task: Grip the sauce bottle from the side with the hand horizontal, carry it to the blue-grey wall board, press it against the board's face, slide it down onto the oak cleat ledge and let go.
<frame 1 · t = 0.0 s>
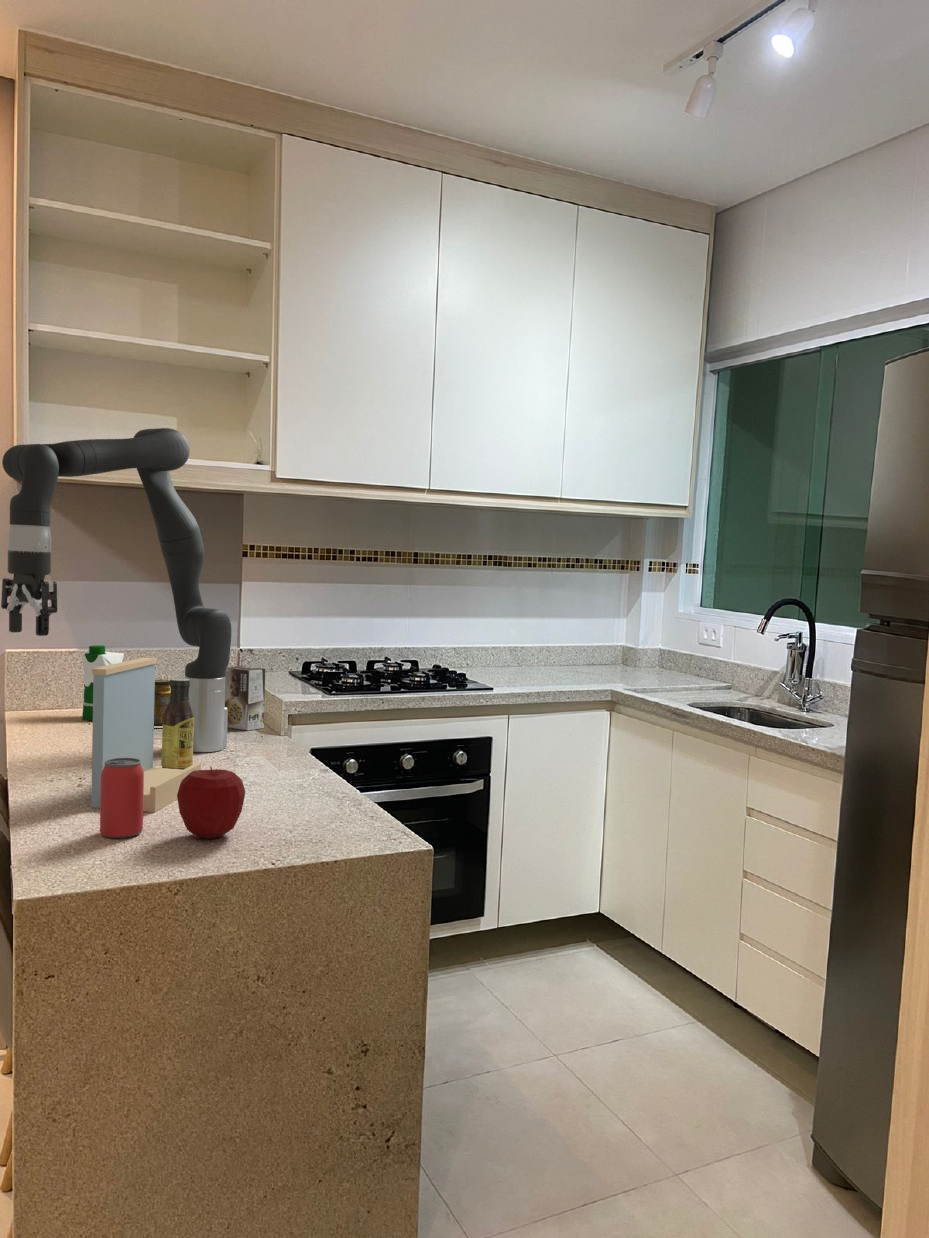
hand: (28, 633, 177), 29 cm above the countertop, tool pointing down, fingers open, 8 cm apart
condiment: (158, 726, 243), on the countertop
milk carton: (101, 719, 249), on the countertop
apple: (210, 837, 151), on the countertop
sauce bottle: (177, 774, 192), on the countertop
wall board: (123, 794, 175), on the countertop
coffee box: (243, 728, 246), on the countertop
beer can: (121, 834, 151), on the countertop
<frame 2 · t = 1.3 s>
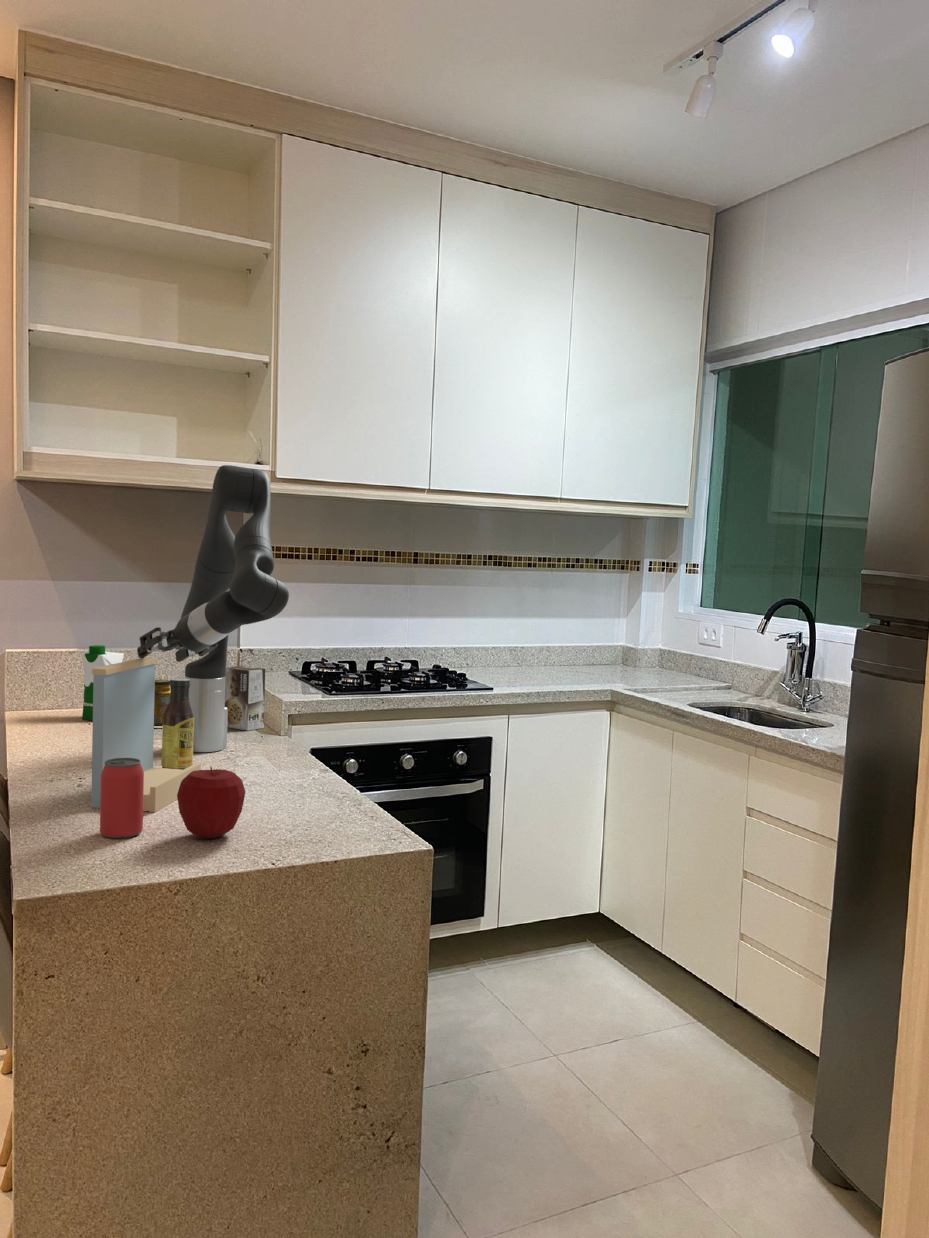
hand: (158, 655, 185), 25 cm above the countertop, tool tilted 65°, fingers open, 8 cm apart
nothing on the countertop moved.
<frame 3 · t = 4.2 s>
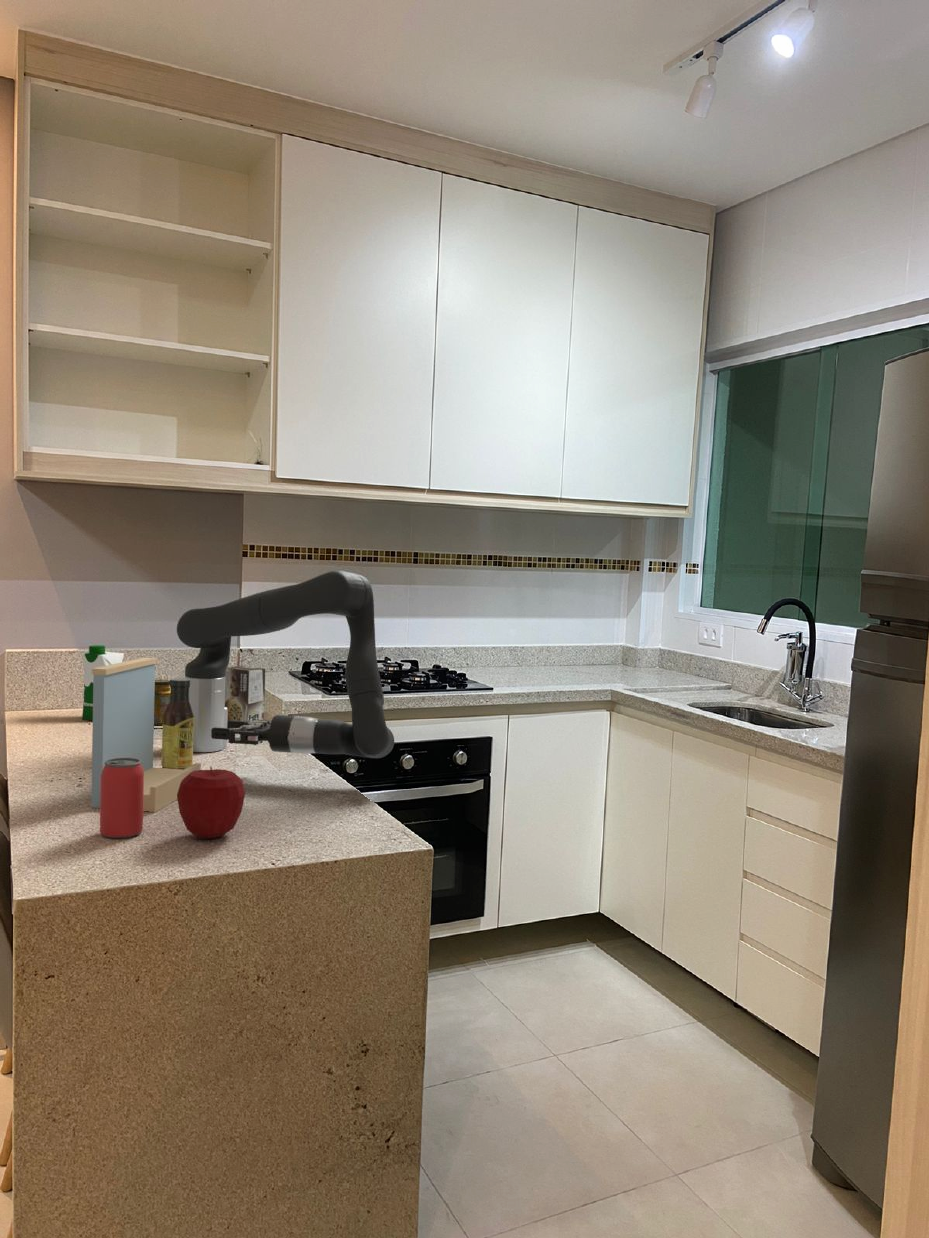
hand: (220, 729, 191), 10 cm above the countertop, tool horizontal, fingers open, 8 cm apart
nothing on the countertop moved.
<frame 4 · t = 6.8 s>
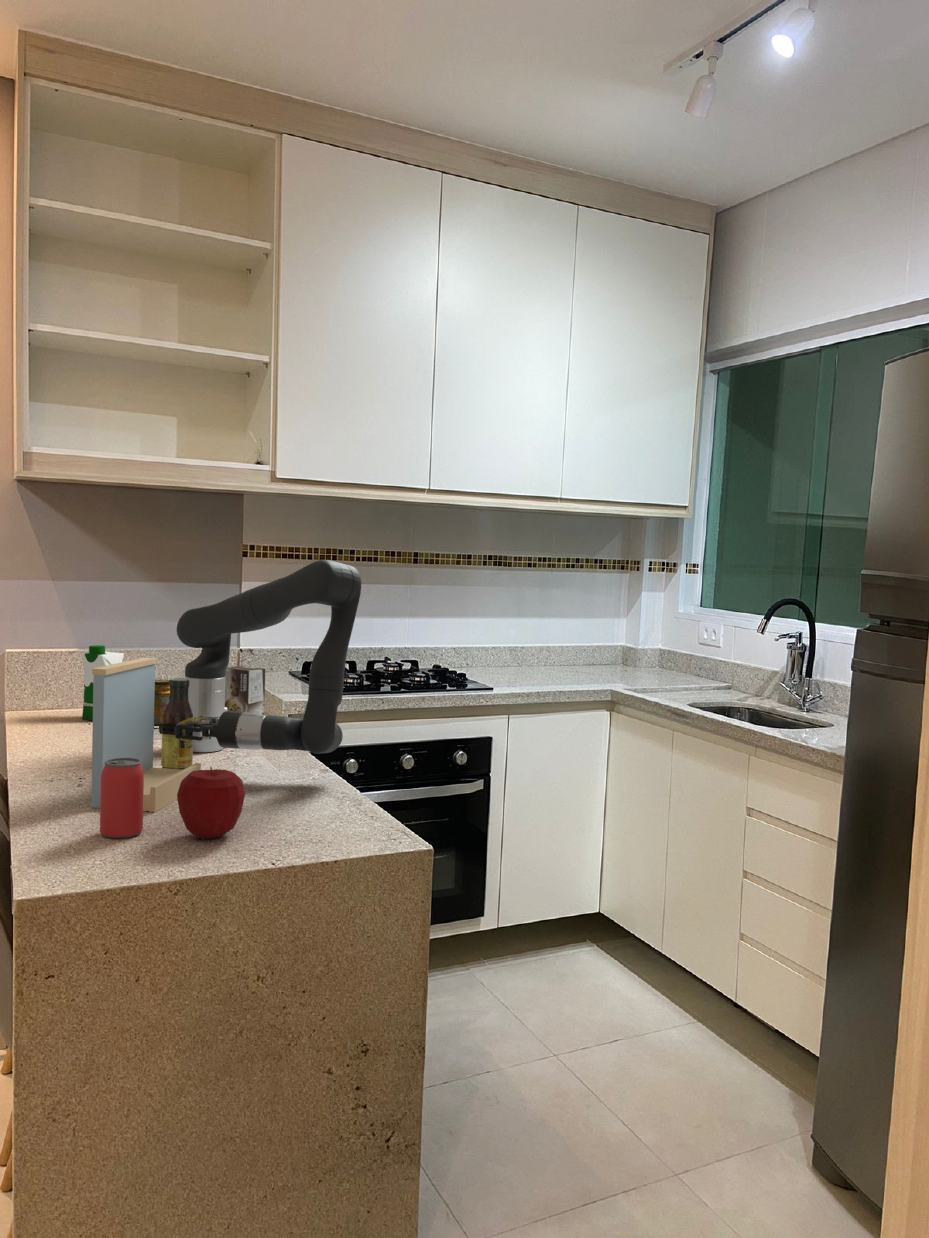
hand: (167, 725, 192), 10 cm above the countertop, tool horizontal, fingers closed on sauce bottle, 6 cm apart
sauce bottle: (177, 774, 192), on the countertop, touching gripper
everything else where it was.
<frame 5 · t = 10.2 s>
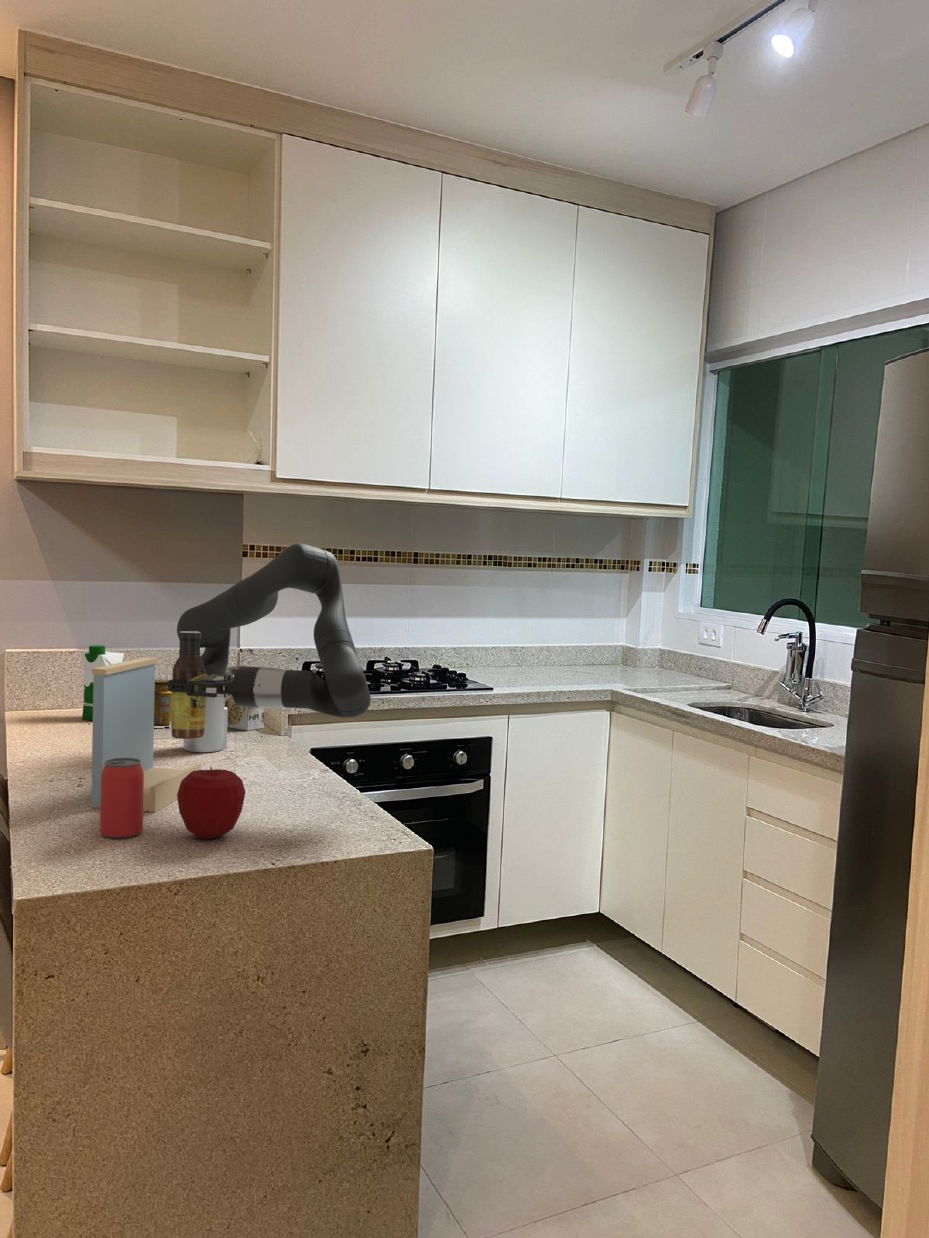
hand: (176, 683, 173), 22 cm above the countertop, tool horizontal, fingers closed on sauce bottle, 6 cm apart
sauce bottle: (188, 737, 174), point 11 cm above the countertop, touching gripper
everything else where it was.
when the fingers open (14 cm above the countertop, at t = 13.8 s): sauce bottle drops 1 cm, resting on wall board.
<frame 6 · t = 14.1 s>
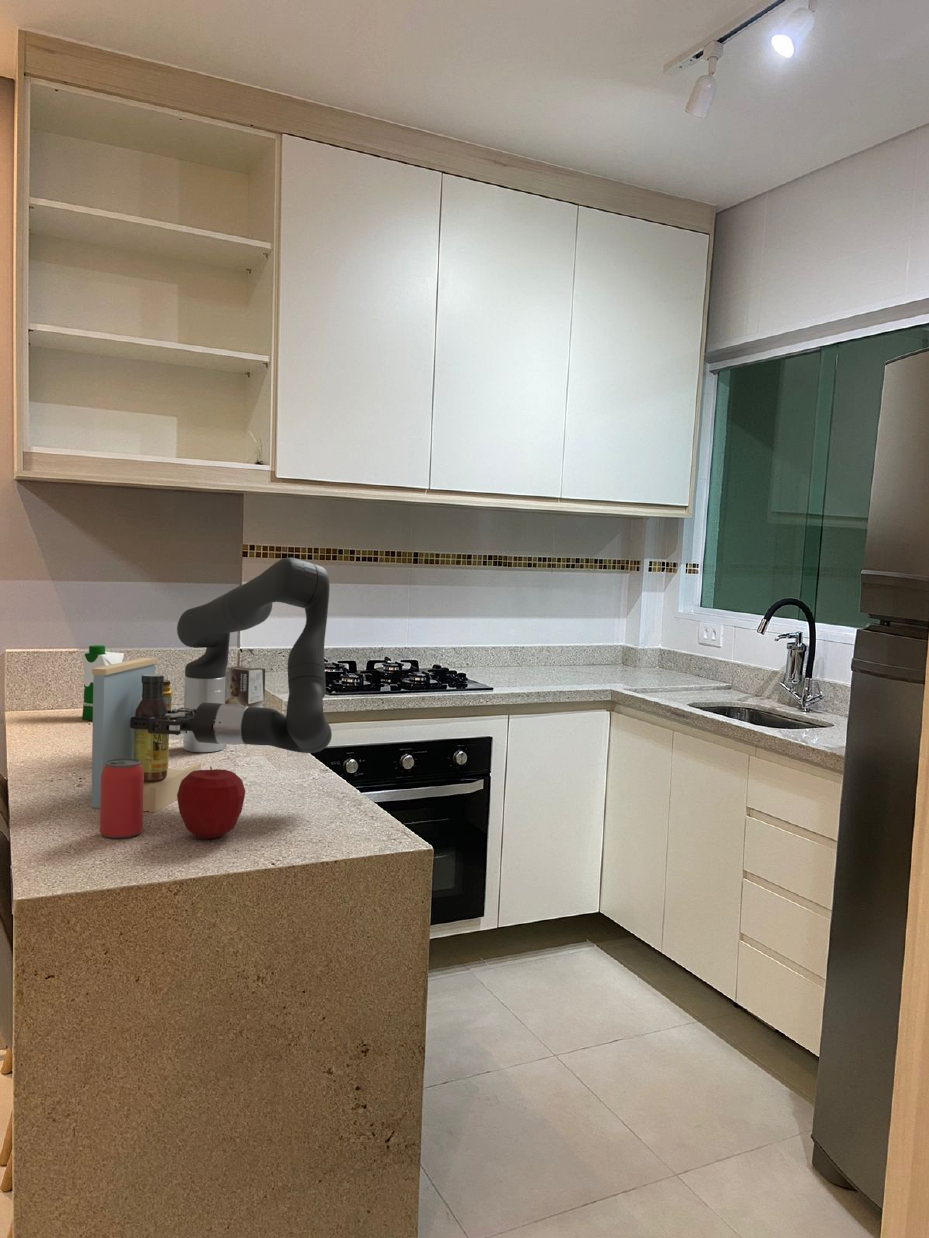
hand: (141, 718, 174), 15 cm above the countertop, tool horizontal, fingers open, 8 cm apart
sauce bottle: (151, 779, 175), point 3 cm above the countertop, touching wall board
everything else where it was.
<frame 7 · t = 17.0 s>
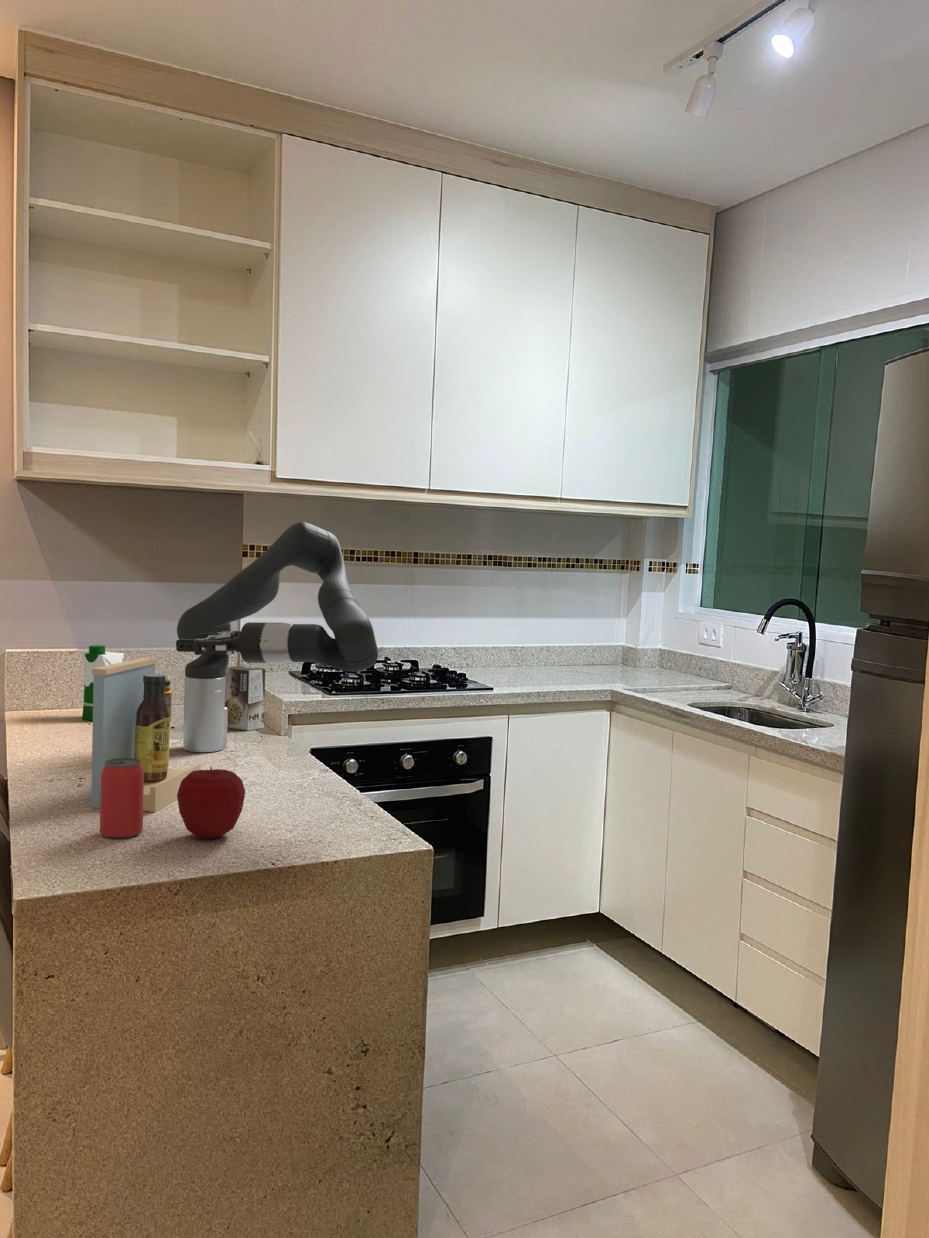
hand: (187, 642, 173), 29 cm above the countertop, tool horizontal, fingers open, 8 cm apart
nothing on the countertop moved.
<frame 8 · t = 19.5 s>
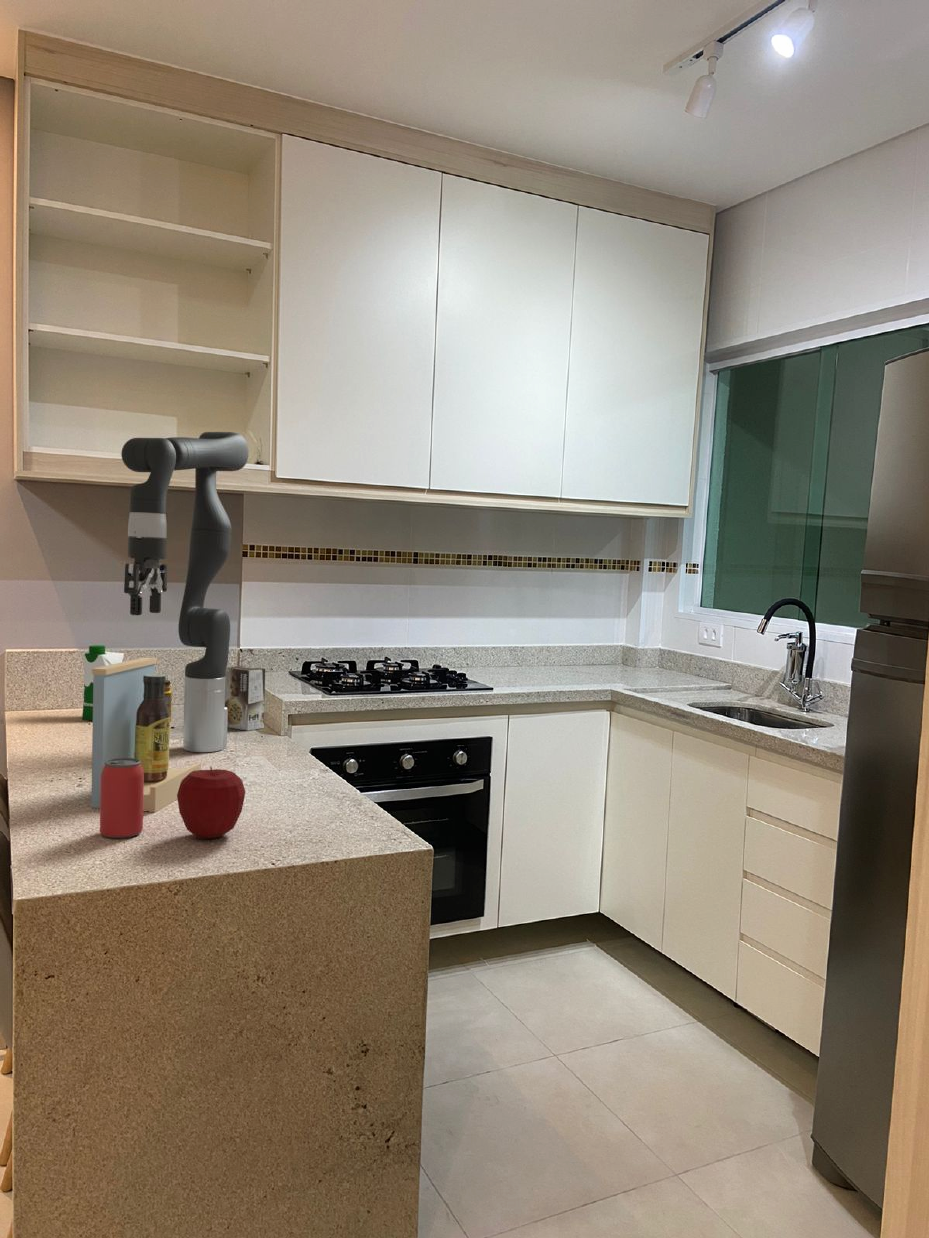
hand: (145, 614, 191), 33 cm above the countertop, tool pointing down, fingers open, 8 cm apart
nothing on the countertop moved.
at the end: sauce bottle touching wall board; sauce bottle tilted 0° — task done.
